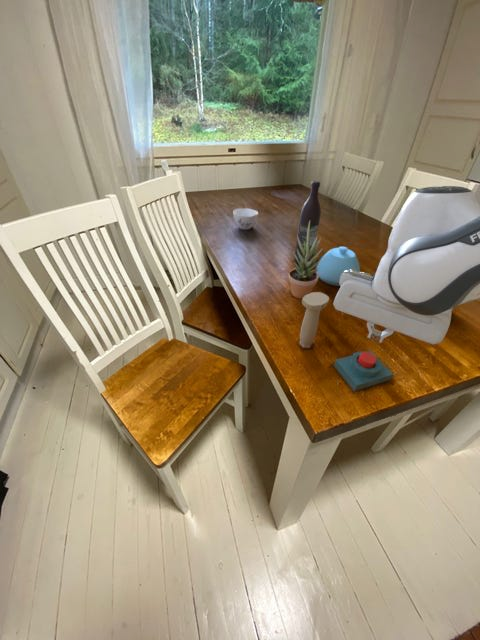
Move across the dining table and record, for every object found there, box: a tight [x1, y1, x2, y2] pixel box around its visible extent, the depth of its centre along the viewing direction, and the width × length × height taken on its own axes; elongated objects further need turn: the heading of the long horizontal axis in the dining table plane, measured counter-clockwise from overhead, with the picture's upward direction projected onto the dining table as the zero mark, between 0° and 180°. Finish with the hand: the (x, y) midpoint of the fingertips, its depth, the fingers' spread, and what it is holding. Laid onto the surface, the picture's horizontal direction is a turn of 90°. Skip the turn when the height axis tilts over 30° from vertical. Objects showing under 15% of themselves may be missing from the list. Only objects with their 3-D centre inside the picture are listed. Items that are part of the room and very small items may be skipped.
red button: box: [358, 351, 377, 368], centre depth 63 cm, size 4×4×2 cm
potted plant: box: [288, 221, 325, 299], centre depth 84 cm, size 10×10×25 cm
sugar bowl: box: [315, 246, 361, 287], centre depth 97 cm, size 15×15×12 cm
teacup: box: [232, 207, 259, 230], centre depth 138 cm, size 15×12×8 cm
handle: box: [299, 291, 330, 349], centre depth 68 cm, size 5×6×15 cm
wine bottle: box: [293, 180, 322, 267], centre depth 100 cm, size 7×7×30 cm
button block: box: [333, 350, 394, 392], centre depth 64 cm, size 10×8×4 cm
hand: (374, 338), depth 58 cm, fingers closed
